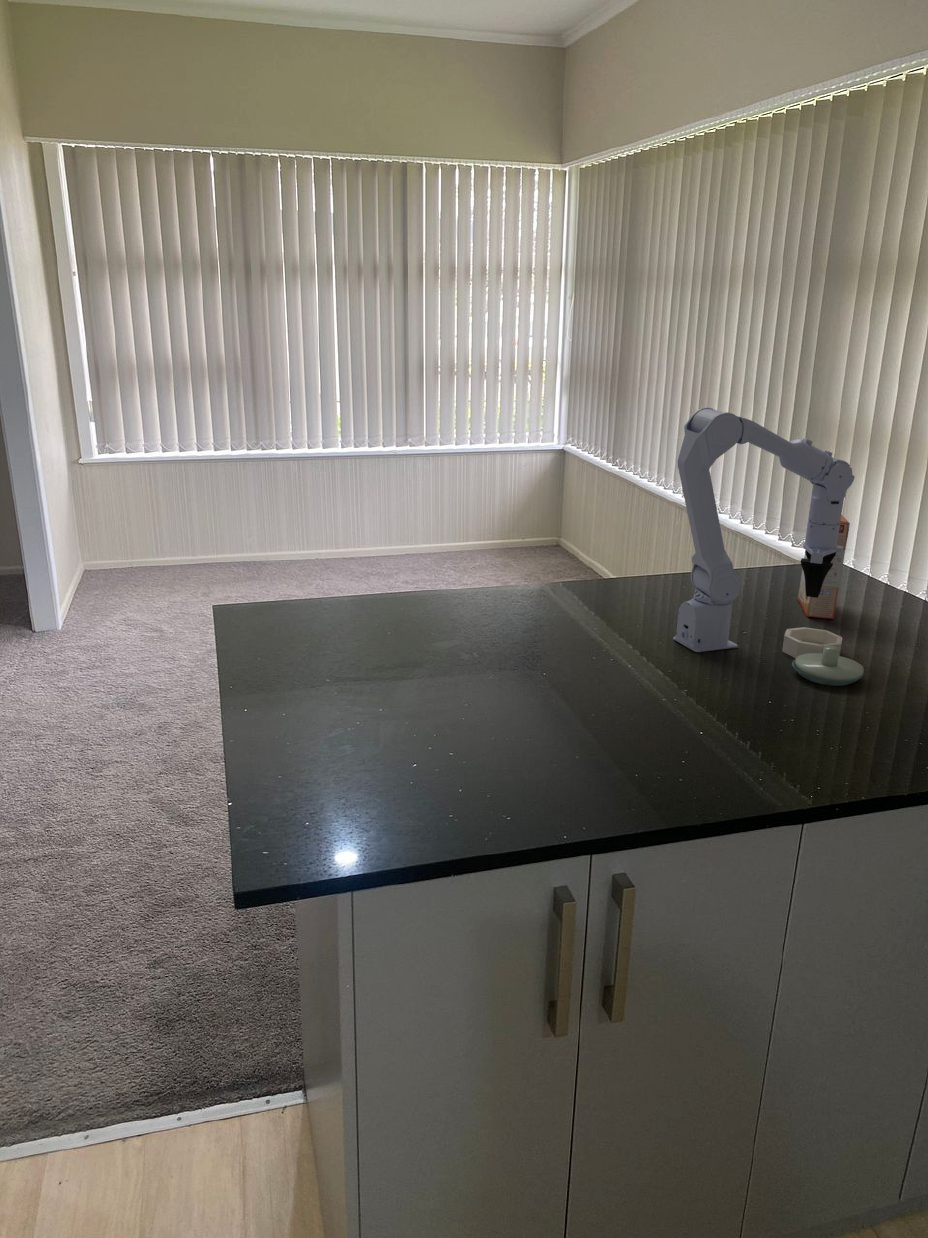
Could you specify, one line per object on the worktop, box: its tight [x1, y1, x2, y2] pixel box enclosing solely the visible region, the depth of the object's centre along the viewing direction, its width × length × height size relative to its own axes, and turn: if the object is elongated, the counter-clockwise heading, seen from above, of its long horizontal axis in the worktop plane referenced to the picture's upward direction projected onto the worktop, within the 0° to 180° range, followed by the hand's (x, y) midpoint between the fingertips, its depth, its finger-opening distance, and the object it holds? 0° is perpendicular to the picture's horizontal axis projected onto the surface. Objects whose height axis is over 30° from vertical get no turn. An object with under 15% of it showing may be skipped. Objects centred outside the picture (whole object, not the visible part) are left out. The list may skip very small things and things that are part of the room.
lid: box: [795, 646, 865, 680], centre depth 164 cm, size 11×11×4 cm
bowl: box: [781, 626, 843, 659], centre depth 177 cm, size 10×10×3 cm
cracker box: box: [797, 514, 851, 620], centre depth 200 cm, size 14×6×21 cm, turn 168°
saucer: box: [791, 659, 865, 687], centre depth 165 cm, size 12×12×2 cm
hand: (813, 591), depth 181 cm, fingers open, 7 cm apart
